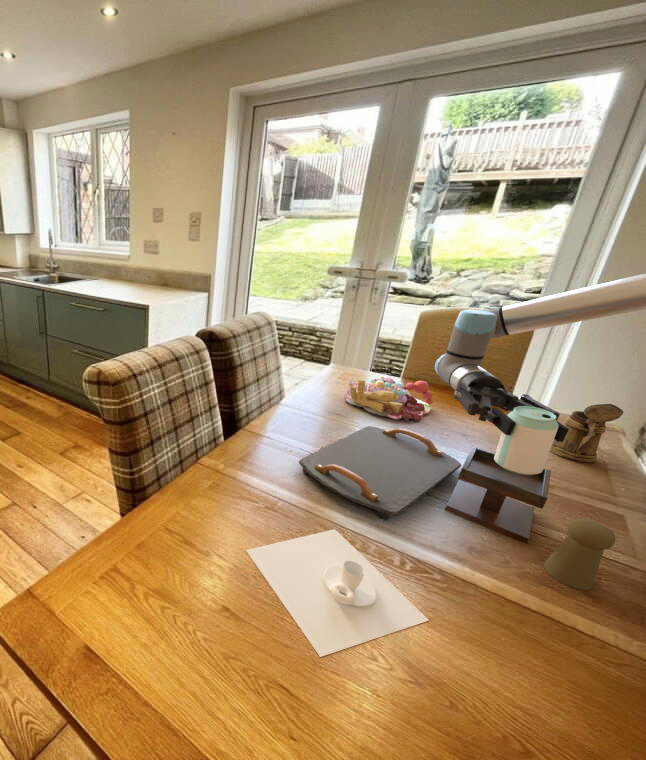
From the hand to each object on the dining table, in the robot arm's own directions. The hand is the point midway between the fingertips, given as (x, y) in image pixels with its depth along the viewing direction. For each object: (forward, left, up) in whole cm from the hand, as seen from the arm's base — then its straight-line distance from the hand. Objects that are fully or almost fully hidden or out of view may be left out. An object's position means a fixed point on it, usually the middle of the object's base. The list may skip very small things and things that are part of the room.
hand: (536, 431), depth 73 cm
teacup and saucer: (+18, +40, -21) cm, 49 cm away
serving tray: (+23, -1, -21) cm, 31 cm away
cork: (-10, +8, -21) cm, 25 cm away
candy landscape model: (+34, -45, -21) cm, 60 cm away
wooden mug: (-10, -46, -21) cm, 52 cm away
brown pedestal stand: (+2, -3, -21) cm, 21 cm away
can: (0, -2, -9) cm, 9 cm away
